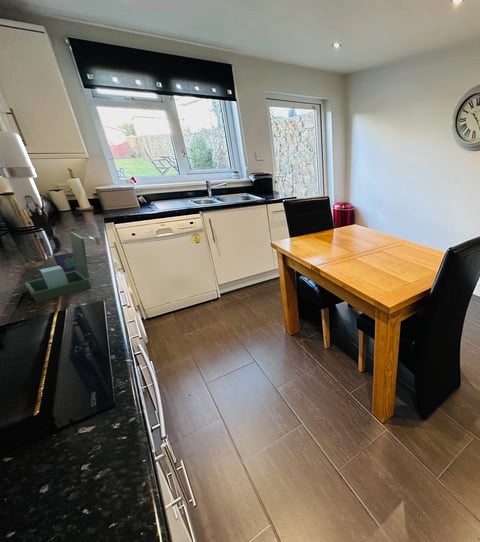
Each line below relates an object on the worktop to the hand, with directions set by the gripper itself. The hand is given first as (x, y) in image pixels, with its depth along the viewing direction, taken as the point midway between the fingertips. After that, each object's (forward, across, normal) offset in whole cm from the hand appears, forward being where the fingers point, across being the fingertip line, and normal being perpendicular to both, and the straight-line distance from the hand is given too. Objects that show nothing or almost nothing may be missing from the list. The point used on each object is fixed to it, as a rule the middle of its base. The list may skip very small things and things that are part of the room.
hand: (41, 224), depth 99 cm
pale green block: (+25, -1, -3) cm, 25 cm away
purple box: (+26, -23, +2) cm, 35 cm away
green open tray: (+26, -1, -3) cm, 26 cm away
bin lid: (+14, -3, +5) cm, 15 cm away
